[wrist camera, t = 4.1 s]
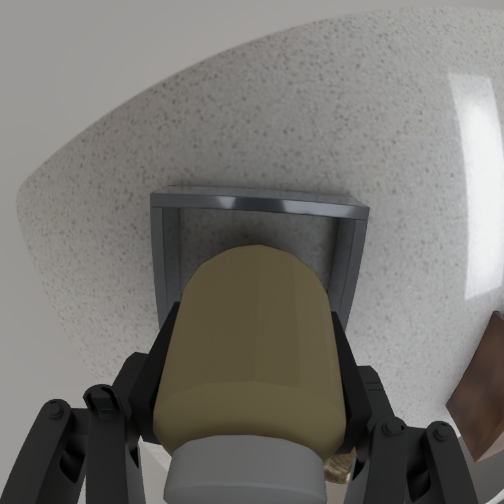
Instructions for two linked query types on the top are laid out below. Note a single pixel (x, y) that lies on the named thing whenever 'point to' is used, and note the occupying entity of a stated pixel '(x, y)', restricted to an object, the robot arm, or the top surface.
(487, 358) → the wooden shelf
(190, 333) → the squeeze bottle
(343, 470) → the fossilized seashell
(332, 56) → the top surface
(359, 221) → the holder
